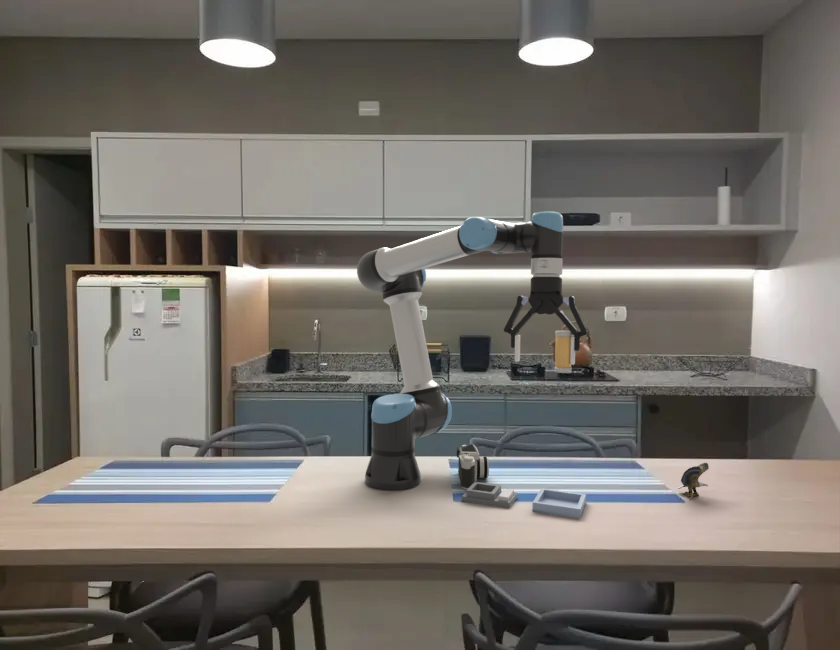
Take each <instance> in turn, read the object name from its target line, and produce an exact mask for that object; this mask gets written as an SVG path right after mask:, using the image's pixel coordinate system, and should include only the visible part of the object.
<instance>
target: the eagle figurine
mask: <svg viewBox="0 0 840 650" xmlns="http://www.w3.org/2000/svg"><path fill="white" fill-rule="evenodd" d="M709 469H710V468H709V463H708V462H703V463H700V464H698V465H697V466H692V467H689V468H688V469H686V470H685V471H684V472H683V474H682V476H681V480H680V482H681V484H682V485H681V486H678V487H677V490H679V489H682V488H687V491H685V492H684V493H682V495H683V496H684V495H685V497H688V498H689V499H688V501H691V499H692V500H693V499H694V497H696V496H700V494H699V493H698V491H697V489H696V488H700V487H709V485H708V484H707V483H705V482H701V481H699V478H700V477H701V476H702V475H703V474H704V473H706V472H707V471H708V470H709Z"/></svg>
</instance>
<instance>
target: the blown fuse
mask: <svg viewBox="0 0 840 650" xmlns="http://www.w3.org/2000/svg"><path fill="white" fill-rule="evenodd" d="M554 336H555V351H554V352H555V354H554V355H555V356H554V358H555V359H554V360H555V361H554V373H557V374H560V373H561V374H571V373H572V369H573V368H572V365H570V355H571V337H573V334H572V333H571V332H570V330H555V333H554Z"/></svg>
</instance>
